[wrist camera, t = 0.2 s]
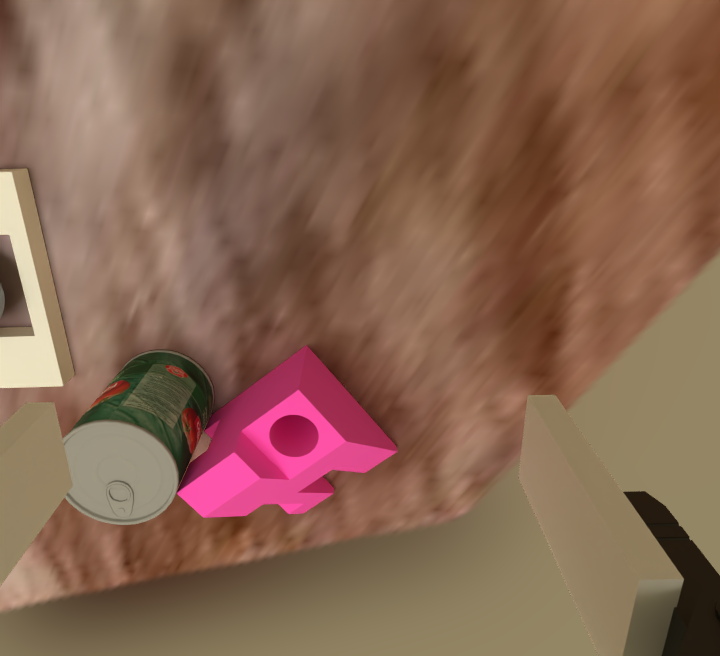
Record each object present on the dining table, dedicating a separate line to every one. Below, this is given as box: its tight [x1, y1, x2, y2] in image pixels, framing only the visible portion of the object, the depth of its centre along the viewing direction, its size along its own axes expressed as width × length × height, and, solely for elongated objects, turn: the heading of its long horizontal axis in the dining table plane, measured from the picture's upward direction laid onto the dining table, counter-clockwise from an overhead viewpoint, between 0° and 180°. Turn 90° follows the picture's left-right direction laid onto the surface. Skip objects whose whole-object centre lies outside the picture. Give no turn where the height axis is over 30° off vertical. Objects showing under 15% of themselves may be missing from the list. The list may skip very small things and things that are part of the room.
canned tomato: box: [63, 350, 215, 525], centre depth 42 cm, size 8×8×11 cm
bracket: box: [177, 345, 397, 518], centre depth 44 cm, size 12×10×10 cm
